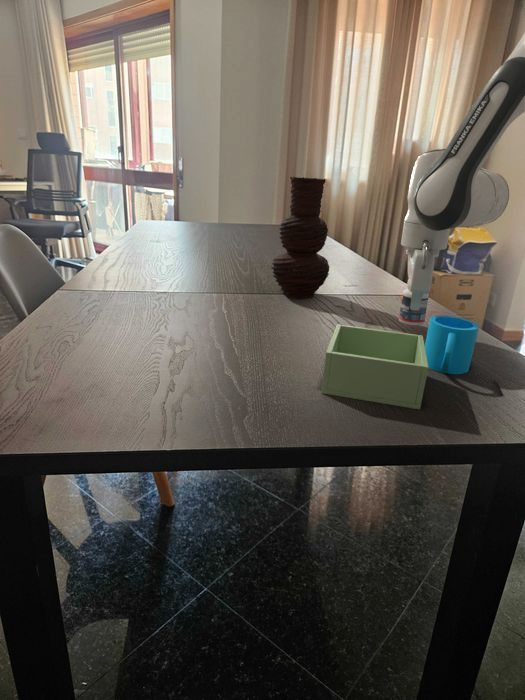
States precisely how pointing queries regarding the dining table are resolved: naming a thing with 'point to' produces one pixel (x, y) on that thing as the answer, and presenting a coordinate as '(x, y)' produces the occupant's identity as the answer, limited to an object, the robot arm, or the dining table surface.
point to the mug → (450, 344)
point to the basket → (376, 366)
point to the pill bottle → (412, 315)
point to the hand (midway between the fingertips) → (413, 305)
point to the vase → (302, 241)
